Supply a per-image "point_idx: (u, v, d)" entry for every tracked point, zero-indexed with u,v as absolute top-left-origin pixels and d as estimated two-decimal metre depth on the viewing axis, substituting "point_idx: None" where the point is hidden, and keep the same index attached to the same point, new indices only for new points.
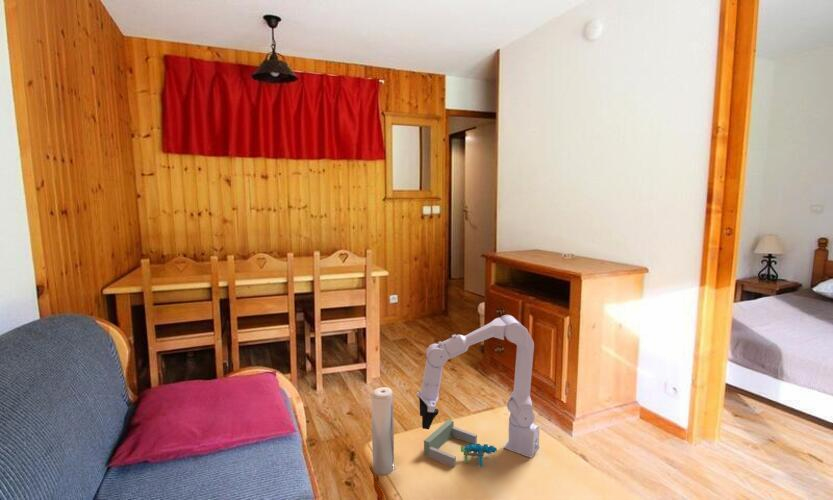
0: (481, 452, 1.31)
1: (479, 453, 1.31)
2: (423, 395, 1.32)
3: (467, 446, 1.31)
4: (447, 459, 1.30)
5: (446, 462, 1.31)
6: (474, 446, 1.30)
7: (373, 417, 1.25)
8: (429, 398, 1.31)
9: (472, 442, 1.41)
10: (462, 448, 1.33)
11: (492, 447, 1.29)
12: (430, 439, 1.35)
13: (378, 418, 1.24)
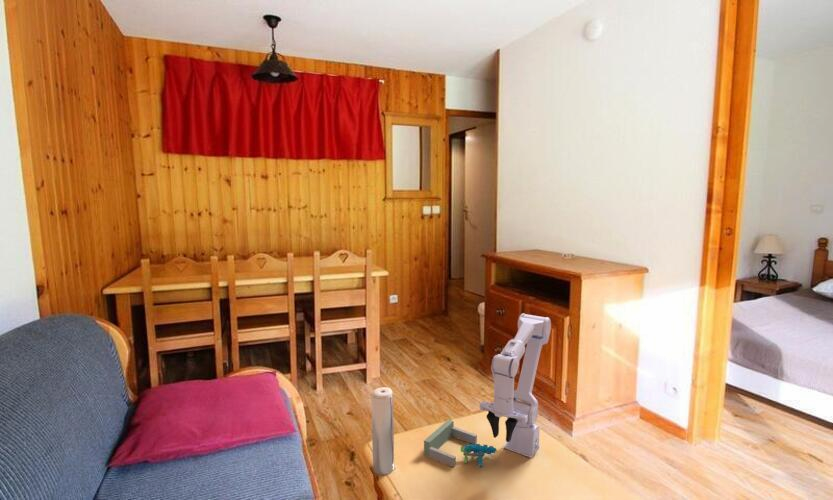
0: (481, 452, 1.31)
1: (479, 453, 1.31)
2: (506, 412, 1.23)
3: (467, 446, 1.31)
4: (447, 459, 1.30)
5: (446, 462, 1.31)
6: (474, 446, 1.30)
7: (373, 417, 1.25)
8: (512, 411, 1.23)
9: (472, 442, 1.41)
10: (462, 448, 1.33)
11: (492, 447, 1.29)
12: (430, 439, 1.35)
13: (378, 418, 1.24)
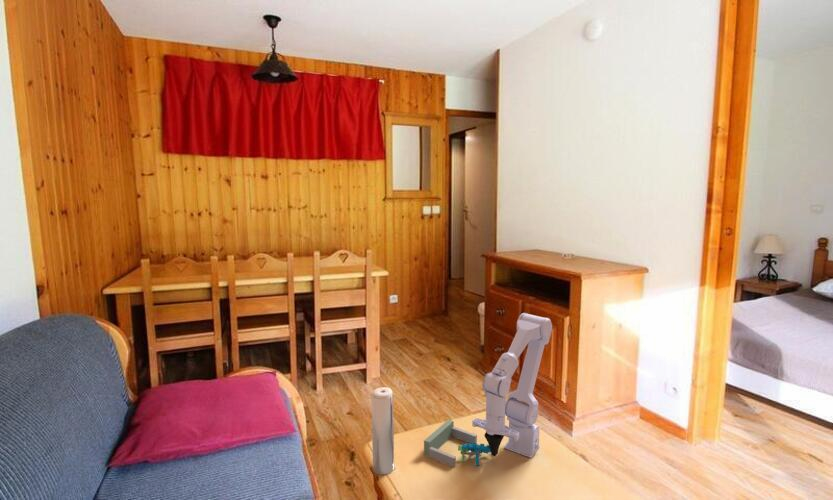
0: (478, 451, 1.31)
1: (476, 452, 1.31)
2: (498, 429, 1.25)
3: (464, 445, 1.31)
4: (447, 459, 1.30)
5: (446, 462, 1.31)
6: (471, 445, 1.30)
7: (373, 417, 1.25)
8: (503, 428, 1.26)
9: (472, 442, 1.41)
10: (459, 447, 1.33)
11: (489, 447, 1.29)
12: (430, 439, 1.35)
13: (378, 418, 1.24)
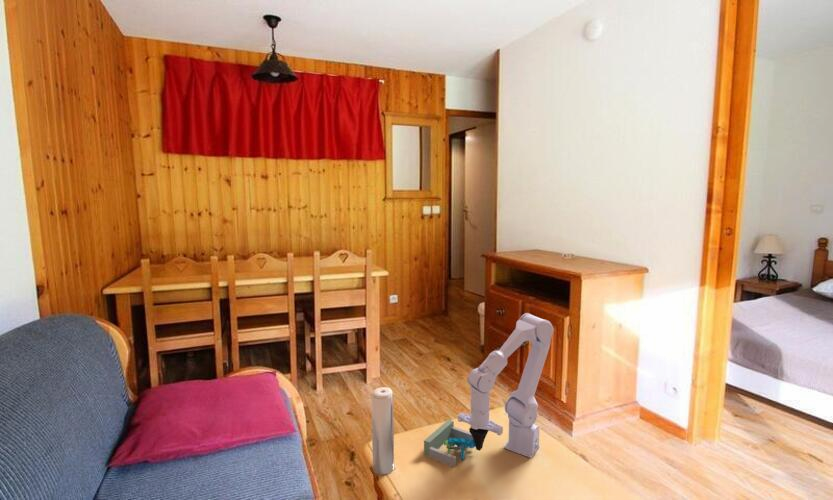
0: (463, 446, 1.34)
1: (461, 447, 1.34)
2: (482, 424, 1.28)
3: (449, 439, 1.34)
4: (447, 459, 1.30)
5: (446, 462, 1.31)
6: (456, 440, 1.33)
7: (373, 417, 1.25)
8: (487, 423, 1.29)
9: None
10: (445, 441, 1.36)
11: (473, 441, 1.32)
12: (430, 439, 1.35)
13: (378, 418, 1.24)
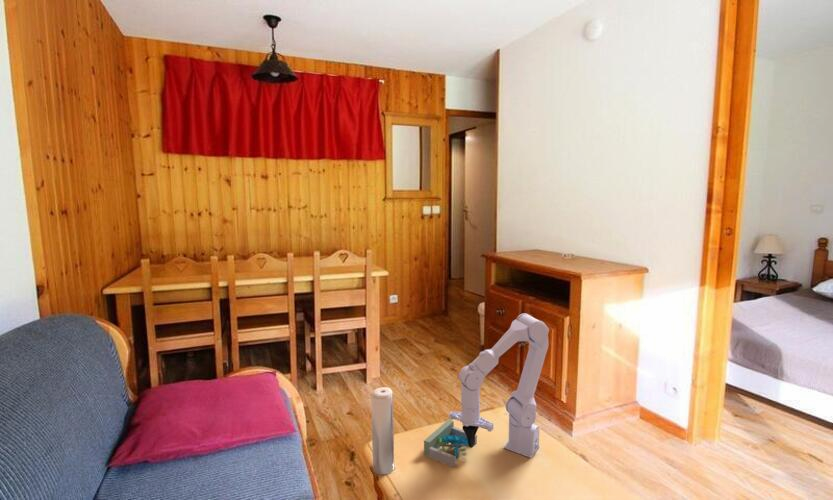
0: (457, 443, 1.35)
1: (455, 444, 1.35)
2: (473, 421, 1.30)
3: (444, 437, 1.36)
4: (447, 459, 1.30)
5: (446, 462, 1.31)
6: (450, 437, 1.34)
7: (373, 417, 1.25)
8: (478, 420, 1.31)
9: None
10: (439, 439, 1.38)
11: (467, 439, 1.34)
12: (430, 439, 1.35)
13: (378, 418, 1.24)
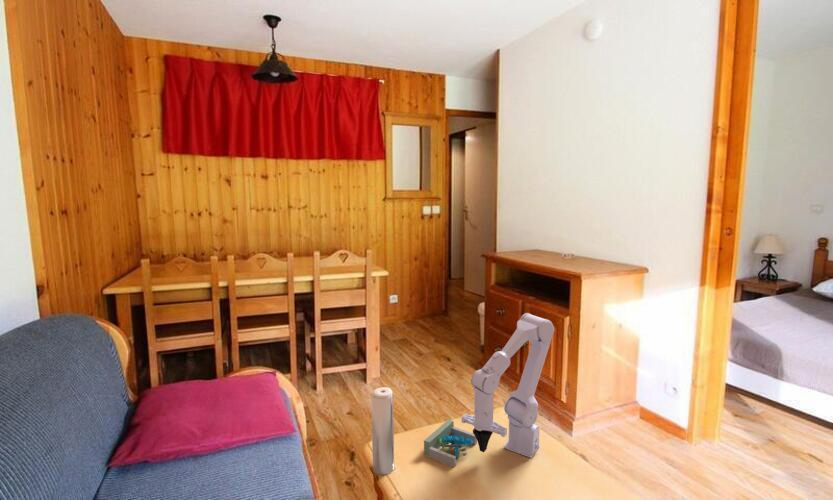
0: (457, 444, 1.35)
1: (455, 445, 1.35)
2: (486, 425, 1.27)
3: (444, 438, 1.36)
4: (447, 459, 1.30)
5: (446, 462, 1.31)
6: (450, 438, 1.34)
7: (373, 417, 1.25)
8: (491, 424, 1.28)
9: None
10: (439, 439, 1.38)
11: (467, 439, 1.33)
12: (430, 439, 1.35)
13: (378, 418, 1.24)
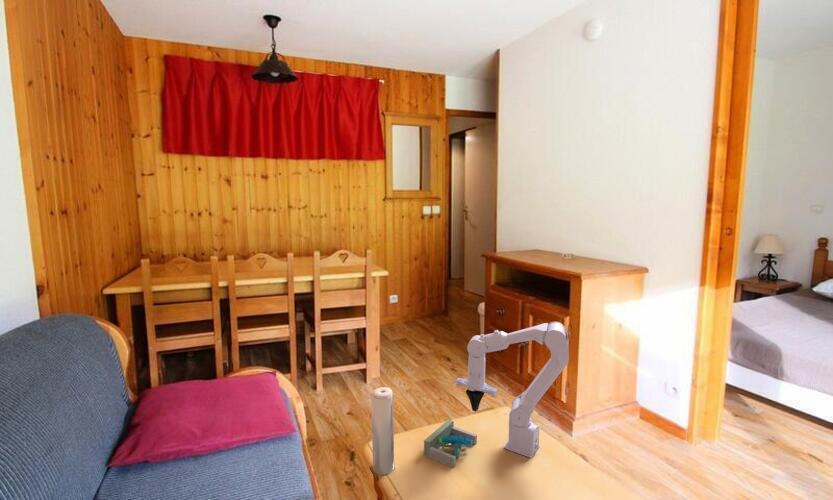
0: (457, 444, 1.35)
1: (455, 445, 1.35)
2: (478, 386, 1.39)
3: (444, 438, 1.36)
4: (447, 459, 1.30)
5: (446, 462, 1.31)
6: (450, 438, 1.34)
7: (373, 417, 1.25)
8: (483, 386, 1.40)
9: (472, 442, 1.41)
10: (439, 440, 1.37)
11: (467, 439, 1.33)
12: (430, 439, 1.35)
13: (378, 418, 1.24)
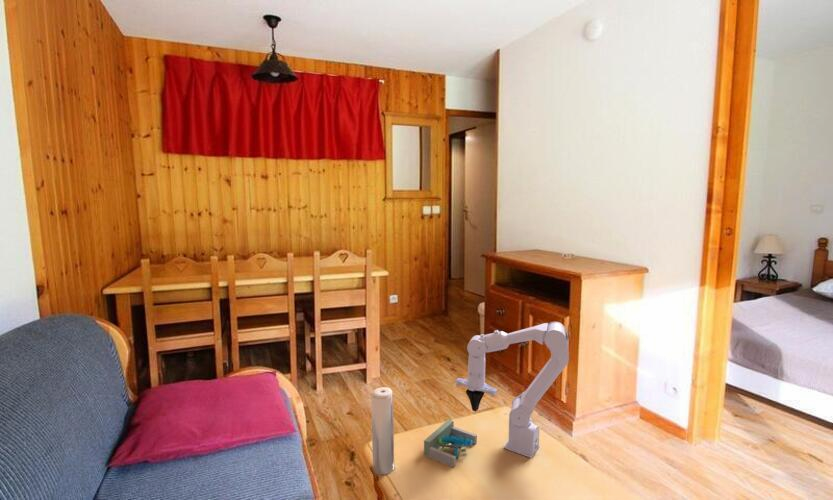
0: (457, 444, 1.35)
1: (455, 445, 1.35)
2: (478, 386, 1.39)
3: (443, 438, 1.36)
4: (447, 459, 1.30)
5: (446, 462, 1.31)
6: (450, 438, 1.34)
7: (373, 417, 1.25)
8: (483, 386, 1.40)
9: (472, 442, 1.41)
10: (439, 440, 1.37)
11: (467, 439, 1.33)
12: (430, 439, 1.35)
13: (378, 418, 1.24)
